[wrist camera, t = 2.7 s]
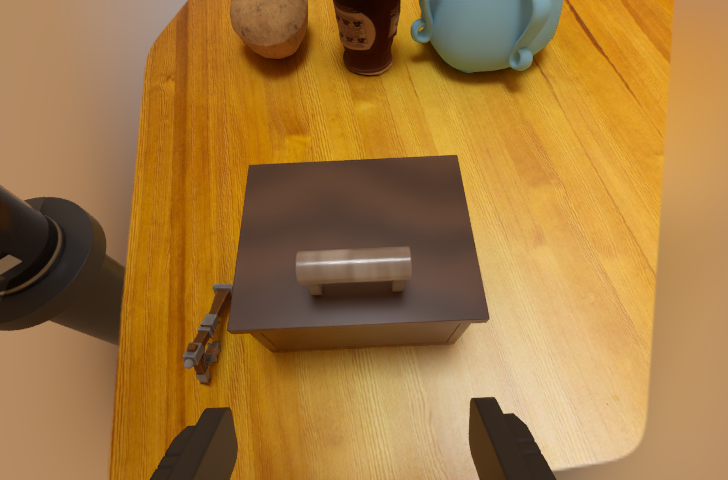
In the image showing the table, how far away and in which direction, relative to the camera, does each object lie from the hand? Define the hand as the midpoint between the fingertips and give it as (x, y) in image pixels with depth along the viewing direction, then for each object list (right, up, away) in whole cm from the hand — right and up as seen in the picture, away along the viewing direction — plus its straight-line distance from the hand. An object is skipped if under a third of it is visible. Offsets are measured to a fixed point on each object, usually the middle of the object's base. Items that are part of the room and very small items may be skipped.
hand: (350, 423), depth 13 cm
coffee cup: (+1, +29, +37) cm, 47 cm away
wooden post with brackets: (-12, -2, +21) cm, 24 cm away
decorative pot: (+16, +32, +38) cm, 52 cm away
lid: (0, +6, +13) cm, 15 cm away
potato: (-11, +32, +39) cm, 52 cm away
